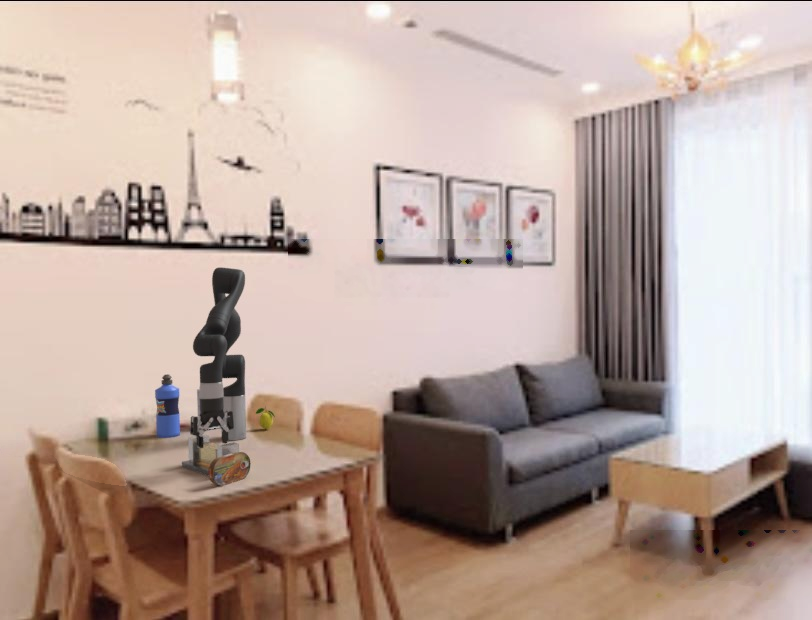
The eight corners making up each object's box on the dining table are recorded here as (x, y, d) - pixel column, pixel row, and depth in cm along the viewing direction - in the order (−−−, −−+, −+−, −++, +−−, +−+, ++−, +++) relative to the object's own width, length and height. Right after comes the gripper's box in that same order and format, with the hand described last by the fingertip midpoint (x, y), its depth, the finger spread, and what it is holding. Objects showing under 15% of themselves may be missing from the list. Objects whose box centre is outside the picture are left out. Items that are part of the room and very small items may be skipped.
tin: (214, 488, 196) (213, 460, 196) (206, 487, 197) (206, 459, 197) (251, 476, 208) (251, 449, 208) (244, 475, 210) (243, 448, 210)
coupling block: (229, 465, 215) (228, 447, 215) (217, 468, 212) (217, 449, 212) (210, 460, 224) (210, 441, 223) (199, 462, 221) (198, 443, 221)
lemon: (255, 429, 283) (255, 406, 282) (267, 427, 287) (267, 404, 286) (264, 431, 278) (263, 407, 277) (276, 429, 282) (275, 406, 281)
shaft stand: (181, 465, 223) (180, 437, 223) (208, 460, 230) (208, 432, 230) (219, 479, 205) (218, 448, 205) (247, 473, 212) (247, 443, 212)
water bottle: (171, 432, 280) (169, 372, 280) (185, 434, 275) (183, 374, 274) (151, 436, 273) (149, 375, 272) (165, 438, 267) (163, 376, 267)
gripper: (225, 392, 225) (226, 440, 225) (185, 397, 215) (186, 447, 215) (237, 394, 220) (238, 443, 220) (196, 399, 210) (198, 451, 210)
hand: (212, 445), depth 218 cm, fingers open, 8 cm apart
